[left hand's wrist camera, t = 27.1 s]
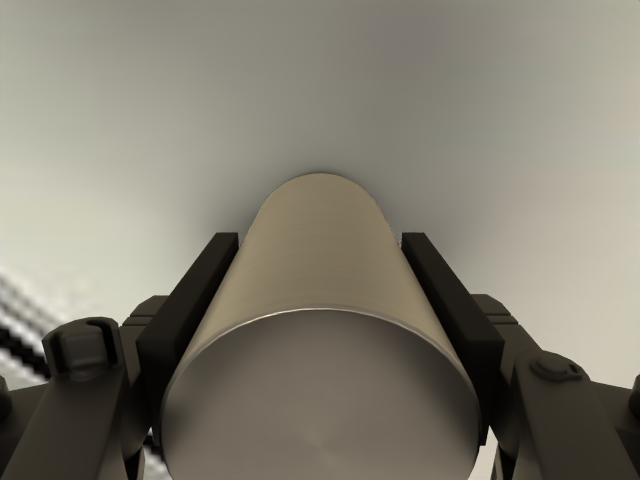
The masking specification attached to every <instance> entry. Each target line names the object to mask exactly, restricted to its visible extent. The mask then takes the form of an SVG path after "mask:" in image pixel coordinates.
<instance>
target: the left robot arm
mask: <svg viewBox="0 0 640 480" xmlns="http://www.w3.org/2000/svg"><path fill="white" fill-rule="evenodd" d="M238 250H239V241H238V233H216V234H215V235H214V237H213V238H212V239H211V241H210V242H209V243H208V245H207V246H206V247H205V249H204V250H203V251H202V253H201V254H200V255H199V257H198V258H197V259H196V261H195V262H194V263H193V265H192V266H191V267H190V269H189V270H188V271H187V273H186V274H185V275H184V277H183V278H182V279H181V280H180V282H179V283H178V284H177V286H176V287H175V288H174V290H173V291H172V292H171V294H170V295H169V296H152V297H151V298H149V299H147V300H146V301H144V302H142V303H141V304H139V305H138V306H137V307H136V309H135V310H134V311H133V312H132V313H131V314H130V317H128V318H127V319H126V320H125V321H124V322H123V324H122V326H120V327H118V323H117V322H116V321H115V320H113V319H111V318H106V317H88V318H83V319H79V320H74V321H72V322H69V323H66V324H64V325H61V326H59V327H58V328H56V329H54V330H53V331H51V332H49V333H48V334H47V335H46V336H45V337H44V338H43V339H42V340H41V341H42V345H43V348H44V352H45V355H46V359H47V362H48V366H49V369H50V373H51V376H52V377H51V379H50V381H49V383H46V384H42V385H37V386H32V387H28V388H23V389H18V390H13V391H9V390H8V387H7V384H6V381H5V378H3V377H2V376H1V375H0V480H143V474H144V466H145V456H144V450H143V445H142V443H143V441H144V439H145V437H146V435H147V433H148V431H149V429H150V428H152V433H153V439H154V444H155V446H160V442H159V415H160V408H161V403H162V400H163V397H164V393H165V390H166V388H167V386H168V384H169V382H170V380H171V378H172V376H173V374H174V372H175V370H176V368H177V366H178V364H179V363H180V361H181V359H182V357H183V355H184V353H185V351H186V349H187V347H188V345H189V343H190V342H191V340H192V338H193V336H194V334H195V332H196V330H197V328H198V326H199V324H200V322H201V321H202V319H203V317H204V315H205V313H206V311H207V309H208V307H209V305H210V303H211V302H212V300H213V298H214V296H215V294H216V292H217V290H218V288H219V286H220V284H221V282H222V281H223V279H224V277H225V275H226V273H227V271H228V269H229V267H230V265H231V263H232V261H233V260H234V258H235V256H236V254H237V252H238ZM401 250H402V251H403V253H404V255H405V257H406V259H407V261H408V263H409V265H410V267H411V269H412V270H413V272H414V274H415V276H416V278H417V280H418V282H419V284H420V286H421V288H422V289H423V291H424V293H425V295H426V297H427V299H428V301H429V303H430V305H431V306H432V308H433V310H434V312H435V314H436V316H437V318H438V320H439V322H440V324H441V325H442V327H443V329H444V331H445V333H446V335H447V337H448V339H449V341H450V343H451V344H452V346H453V348H454V350H455V352H456V354H457V356H458V358H459V360H460V362H461V363H462V365H463V367H464V369H465V371H466V373H467V375H468V377H469V379H470V380H471V382H472V385H473V387H474V390H475V393H476V395H477V398H478V401H479V407H480V412H481V429H482V434H481V442H480V446H485V445H486V440H487V435H488V429H489V425H490V427H491V429H492V431H493V433H494V435H495V437H496V439H497V441H498V445H497V450H496V454H495V459H494V464H493V469H492V474H491V480H640V374H639V375H638V376H637V377H636V379H635V382H634V385H633V388H632V389H627V388H622V387H617V386H612V385H607V384H602V383H597V382H593V381H591V380H590V378H589V376H588V375H587V374H586V372H585V371H584V370H583V369H582V367H580V366H579V365H577V364H576V363H574V362H573V361H572V360H570V359H568V358H565V357H563V356H561V355H559V354H556V353H552V352H548V351H544V350H542V349H541V348H540V347H539V346H538V345H537V343H536V342H535V341H534V340H533V339H532V338H531V336H530V335H529V334H528V333H527V332H526V331H525V330H524V328H523V327H522V326H521V325H518V322H517V320H516V319H515V318H514V317H513V316H511V313H510V312H509V311H508V310H507V309H506V308H505V307H504V305H503V304H502V303H500V302H499V301H497V300H495V299H494V298H492V297H490V296H489V295H487V294H470V293H469V292H468V291H467V289H466V288H465V287H464V285H463V284H462V283H461V281H460V280H459V279H458V278H457V276H456V275H455V274H454V272H453V271H452V270H451V268H450V267H449V266H448V264H447V263H446V262H445V260H444V259H443V258H442V256H441V255H440V254H439V252H438V251H437V250H436V248H435V247H434V246H433V244H432V243H431V242H430V240H429V239H428V238H427V236H426V235H425V234H424V233H402V244H401Z"/></svg>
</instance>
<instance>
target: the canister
mask: <svg viewBox="0 0 640 480" xmlns="http://www.w3.org/2000/svg"><path fill="white" fill-rule="evenodd" d="M481 434H482V429H481V412H480V407H479V401H478V398H477V395H476V393H475V390H474V387H473V385H472V382H471V380H470V379H469V377H468V375H467V373H466V371H465V369H464V367H463V365H462V363H461V362H460V360H459V358H458V356H457V354H456V352H455V350H454V348H453V346H452V344H451V343H450V341H449V339H448V337H447V335H446V333H445V331H444V329H443V327H442V325H441V324H440V322H439V320H438V318H437V316H436V314H435V312H434V310H433V308H432V306H431V305H430V303H429V301H428V299H427V297H426V295H425V293H424V291H423V289H422V288H421V286H420V284H419V282H418V280H417V278H416V276H415V274H414V272H413V270H412V269H411V267H410V265H409V263H408V261H407V259H406V257H405V255H404V253H403V251H402V250H401V248H400V246H399V244H398V242H397V240H396V238H395V236H394V234H393V233H392V231H391V229H390V227H389V225H388V223H387V221H386V219H385V217H384V215H383V214H382V212H381V210H380V208H379V206H378V204H377V203H376V201H375V200H374V199H373V198H372V196H371V195H370V194H369V193H368V192H367V191H366V190H365V189H363V188H362V187H361V186H359V185H358V184H356V183H355V182H353V181H351V180H349V179H346V178H344V177H341V176H337V175H333V174H325V173H314V174H307V175H303V176H299V177H296V178H294V179H291V180H289V181H287V182H285V183H284V184H282V185H280V186H279V187H278V188H277V189H275V190H274V191H273V192H272V193H271V194H270V195H269V196H268V197H267V199H266V200H265V202H264V203H263V204H262V206H261V208H260V210H259V212H258V214H257V216H256V218H255V219H254V221H253V223H252V225H251V227H250V229H249V231H248V233H247V235H246V237H245V239H244V240H243V242H242V244H241V246H240V248H239V250H238V252H237V254H236V256H235V258H234V260H233V261H232V263H231V265H230V267H229V269H228V271H227V273H226V275H225V277H224V279H223V281H222V282H221V284H220V286H219V288H218V290H217V292H216V294H215V296H214V298H213V300H212V302H211V303H210V305H209V307H208V309H207V311H206V313H205V315H204V317H203V319H202V321H201V322H200V324H199V326H198V328H197V330H196V332H195V334H194V336H193V338H192V340H191V342H190V343H189V345H188V347H187V349H186V351H185V353H184V355H183V357H182V359H181V361H180V363H179V364H178V366H177V368H176V370H175V372H174V374H173V376H172V378H171V380H170V382H169V384H168V386H167V388H166V390H165V393H164V397H163V400H162V403H161V408H160V415H159V442H160V446H161V451H162V456H163V459H164V462H165V464H166V467H167V469H168V472H169V474H170V475H171V477H172V479H173V480H468V478H469V476H470V474H471V472H472V470H473V468H474V465H475V462H476V459H477V456H478V453H479V448H480V442H481Z"/></svg>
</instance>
